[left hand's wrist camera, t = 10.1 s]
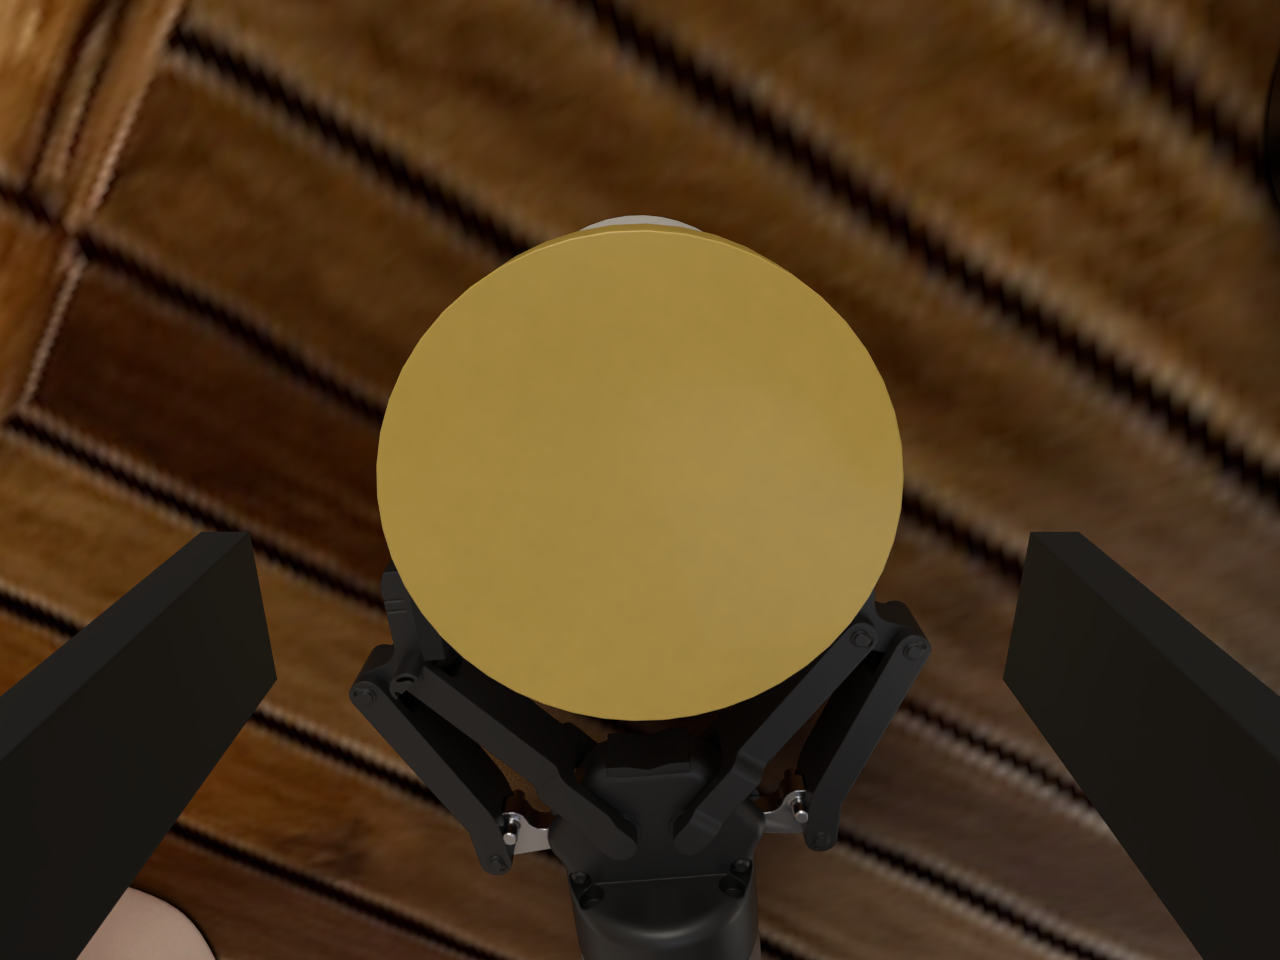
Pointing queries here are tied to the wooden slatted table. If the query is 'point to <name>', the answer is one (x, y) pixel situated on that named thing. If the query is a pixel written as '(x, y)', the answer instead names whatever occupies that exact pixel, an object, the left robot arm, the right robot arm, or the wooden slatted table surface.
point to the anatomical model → (146, 932)
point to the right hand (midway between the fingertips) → (612, 447)
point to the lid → (639, 473)
